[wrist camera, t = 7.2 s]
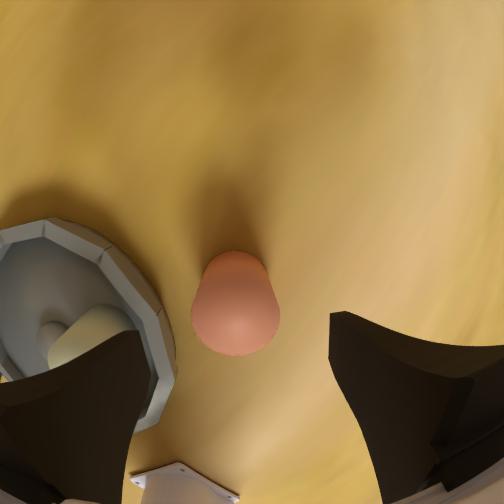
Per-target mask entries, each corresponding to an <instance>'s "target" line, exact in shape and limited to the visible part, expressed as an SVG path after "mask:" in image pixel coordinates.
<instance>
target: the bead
mask: <svg viewBox="0 0 504 504" xmlns="http://www.w3.org/2000/svg"><path fill="white" fill-rule="evenodd" d="M191 321H192V326H193V329H194V331H195V333H196V335H197V336H198V338H199V339H200V340H201V341H202V342H203V343H204V344H205V345H206V346H207V347H209V348H210V349H212V350H214V351H216V352H218V353H221V354H225V355H232V356H240V355H246V354H250V353H253V352H255V351H257V350H259V349H261V348H263V347H264V346H265V345H266V344H267V343H269V342H270V340H271V339H272V338H273V336H274V335H275V333H276V331H277V329H278V326H279V321H280V311H279V306H278V303H277V300H276V297H275V295H274V292H273V289H272V286H271V283H270V280H269V278H268V275H267V272H266V270H265V268H264V266H263V264H262V263H261V262H260V261H259V260H258V259H257V258H256V257H254V256H253V255H251V254H249V253H246V252H243V251H228V252H224V253H222V254H219V255H218V256H216V257H215V258H213V259H212V260H211V261H210V262H209V264H208V265H207V267H206V269H205V271H204V274H203V276H202V279H201V282H200V285H199V288H198V291H197V294H196V297H195V299H194V302H193V306H192V310H191Z"/></svg>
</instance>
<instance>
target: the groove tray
mask: <svg viewBox="0 0 504 504" xmlns="http://www.w3.org/2000/svg"><path fill="white" fill-rule="evenodd" d="M97 304H110V305H113V306H116V307H118V308H119V309H121V310H122V311H124V312H125V313H126V314H127V315H128V316H129V317H130V319H131V320H132V322H133V323H134V325H135V327H136V330H139V332H140V336H141V340H142V343H143V347H144V350H145V354H146V357H147V361H148V364H149V367H150V371H151V378H150V384H149V388H148V393H147V396H146V399H145V402H144V405H143V407H142V410H141V413H140V415H139V418H138V421H137V424H136V426H135V429H134V432H133V434H136V433H138V432H140V431H143V430H145V429H147V428H149V427H152V426H154V425H156V424H158V422H159V420H160V417H161V415H162V412H163V410H164V407H165V405H166V402H167V400H168V397H169V395H170V392H171V390H172V387H173V385H174V383H175V379H176V376H177V372H178V369H177V365H176V348H175V342H174V336H173V332H172V328H171V325H170V322H169V318H168V316H167V314H166V311H165V309H164V307H163V305H162V302H161V300H160V299H159V297H158V295H157V293H156V292H155V290H154V288H153V286H152V285H151V284H150V282H149V281H148V279H147V278H146V277H145V275H144V274H143V272H142V271H141V270H140V269H139V268H138V267H137V265H136V264H135V263H134V262H133V261H132V260H131V259H130V258H129V257H128V256H127V255H126V254H125V253H124V252H123V251H122V250H121V249H120V248H119V247H118V246H116V245H115V244H114V243H112V242H111V241H110V240H108V239H107V238H106V237H104V236H103V235H101V234H99V233H97V232H96V231H94V230H92V229H90V228H88V227H86V226H83V225H80V224H78V223H75V222H71V221H66V220H61V219H58V218H56V217H51V218H47V219H43V220H38V221H34V222H30V223H26V224H22V225H19V226H15V227H11V228H7V229H4V230H0V372H1V373H2V374H3V376H4V377H5V378H6V379H7V380H8V382H11V381H15V380H20V379H24V378H27V377H30V376H34V375H37V374H40V373H43V372H46V371H48V370H50V368H49V365H48V357H47V356H48V351H49V348H50V347H51V346H52V344H53V343H54V342H55V341H56V340H57V339H58V338H60V337H61V336H62V335H63V334H64V333H65V332H66V331H67V330H68V329H69V328H70V327H71V326H72V325H73V324H74V323H75V322H76V321H77V320H78V319H79V318H80V317H81V316H82V315H83V314H84V313H86V312H87V311H88V310H89V309H90V308H91V307H92V306H94V305H97Z"/></svg>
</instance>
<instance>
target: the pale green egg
mask: <svg viewBox="0 0 504 504" xmlns="http://www.w3.org/2000/svg"><path fill="white" fill-rule="evenodd" d="M125 330H136V327H135V325H134V323H133V322H132V320H131V319H130V317H129V316H128V315H127V314H126V313H125V312H124V311H122V310H121V309H119V308H118V307H116V306H113V305H110V304H97V305H94V306H92V307H91V308H90V309H89V310H88V311H87V312H86V313H84V314H83V315H82V316H81V317H80V318H79V319H78V320H77V321H76V322H75V323H74V324H73V325H72V326H71V327H70V328H69V329H68V330H67V331H66V332H65V333H64V334H63V335H62V336H61V337H60V338H58V339H57V340H56V341H55V342H54V343H53V344H52V346H51V347H50V348H49V351H48V356H47V357H48V365H49V368H50V370H51V369H53V368H56V367H58V366H60V365H62V364H65V363H67V362H69V361H71V360H72V359H74V358H76V357H78V356H80V355H81V354H83V353H85V352H87V351H89V350H90V349H92V348H94V347H95V346H97V345H99V344H100V343H102V342H104V341H105V340H107V339H109V338H111V337H112V336H114V335H116V334H118V333H120V332H122V331H125Z"/></svg>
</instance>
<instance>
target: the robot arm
mask: <svg viewBox="0 0 504 504" xmlns="http://www.w3.org/2000/svg"><path fill="white" fill-rule="evenodd" d="M328 359H329V362H330V365H331V368H332V371H333V374H334V376H335V379H336V381H337V383H338V385H339V387H340V389H341V391H342V393H343V394H344V396H345V398H346V400H347V402H348V404H349V406H350V408H351V410H352V411H353V413H354V415H355V417H356V419H357V421H358V423H359V426H360V428H361V430H362V433H363V436H364V439H365V442H366V444H367V447H368V450H369V453H370V457H371V460H372V463H373V466H374V470H375V473H376V477H377V481H378V485H379V488H380V493H381V497H382V502H383V504H504V345H496V346H458V345H449V344H442V343H436V342H430V341H426V340H422V339H418V338H414V337H411V336H407V335H404V334H401V333H399V332H396V331H393V330H390V329H388V328H385V327H383V326H380V325H378V324H376V323H374V322H371V321H369V320H367V319H364V318H362V317H360V316H358V315H355V314H353V313H350V312H347V311H342V312H335V313H330V329H329V356H328ZM150 378H151V371H150V367H149V364H148V361H147V357H146V354H145V350H144V347H143V343H142V340H141V336H140V332H139V330H125V331H122V332H120V333H118V334H116V335H114V336H112V337H111V338H109V339H107V340H105V341H104V342H102V343H100V344H99V345H97V346H95V347H94V348H92V349H90V350H89V351H87V352H85V353H83V354H81V355H80V356H78V357H76V358H74V359H72V360H71V361H69V362H67V363H65V364H62V365H60V366H58V367H56V368H53V369H51V370H48V371H46V372H43V373H40V374H37V375H34V376H30V377H27V378H24V379H20V380H15V381H11V382H5V383H0V504H121V501H122V488H123V479H124V472H125V465H126V459H127V454H128V449H129V445H130V441H131V438H132V435H133V432H134V429H135V426H136V424H137V421H138V418H139V415H140V413H141V410H142V407H143V405H144V402H145V399H146V396H147V393H148V388H149V384H150ZM130 481H132V482H133V483H135V484H136V485H138V486H140V487H141V488H143V489H144V492H143V496H142V501H141V504H234V502H238V501H240V497H239V496H237V495H235V494H233V493H231V492H229V491H227V490H225V489H223V488H222V487H220V486H218V485H216V484H215V483H213V482H211V481H209V480H208V479H206V478H204V477H203V476H201V475H199V474H198V473H196V472H195V471H193V470H191V469H190V468H188V467H187V466H185V465H184V464H182V463H178V462H177V463H174V464H171V465H168V466H165V467H161V468H158V469H155V470H152V471H148V472H145V473H141V474H138V475H134V476H131V477H130Z"/></svg>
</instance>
